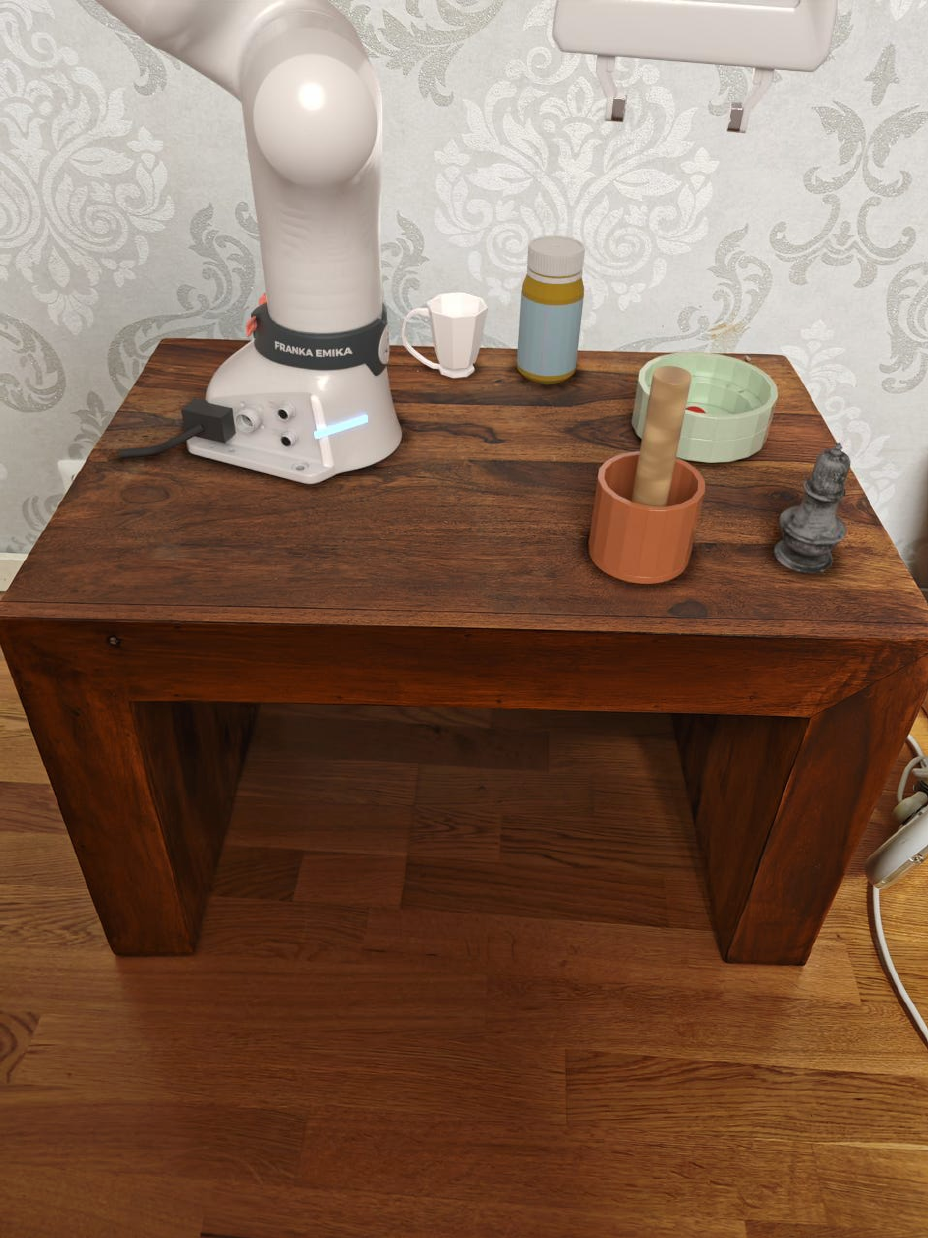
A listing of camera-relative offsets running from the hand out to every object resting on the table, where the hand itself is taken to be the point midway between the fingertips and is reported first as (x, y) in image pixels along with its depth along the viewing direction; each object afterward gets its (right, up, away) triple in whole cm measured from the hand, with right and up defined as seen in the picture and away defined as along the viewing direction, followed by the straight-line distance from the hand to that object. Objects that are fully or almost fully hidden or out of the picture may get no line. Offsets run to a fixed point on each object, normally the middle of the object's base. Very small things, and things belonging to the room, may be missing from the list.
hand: (674, 125), depth 76 cm
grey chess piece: (+15, -33, +14) cm, 39 cm away
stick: (-1, -33, +12) cm, 35 cm away
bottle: (-7, -9, +40) cm, 41 cm away
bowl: (+9, -18, +30) cm, 36 cm away
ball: (+8, -18, +27) cm, 33 cm away
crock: (0, -33, +14) cm, 35 cm away
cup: (-19, -9, +40) cm, 45 cm away
